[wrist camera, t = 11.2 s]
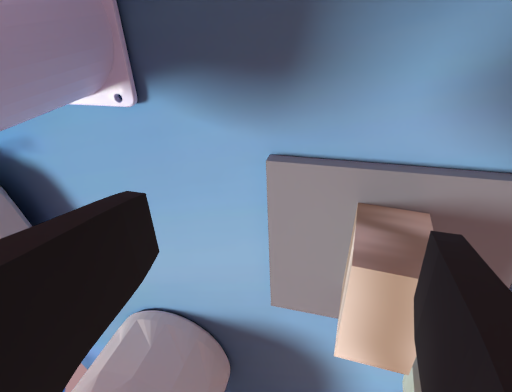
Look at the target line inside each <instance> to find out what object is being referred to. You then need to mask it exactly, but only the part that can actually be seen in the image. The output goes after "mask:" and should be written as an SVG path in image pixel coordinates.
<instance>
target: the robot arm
mask: <svg viewBox="0 0 512 392" xmlns="http://www.w3.org/2000/svg"><path fill="white" fill-rule="evenodd" d="M118 94H120V95H121V96H122V100H121V99H120V98H119V96H118ZM136 103H137V93H136V89H135V84H134V80H133V75H132V70H131V66H130V61H129V57H128V52H127V47H126V43H125V38H124V34H123V29H122V24H121V20H120V15H119V11H118V6H117V1H116V0H0V131H2V130H5V129H7V128H10V127H12V126H15V125H17V124H20V123H22V122H25V121H27V120H30V119H32V118H35V117H37V116H40V115H42V114H45V113H47V112H50V111H52V110H55V109H57V108H60V107H62V106H65V105H67V104H74V105H95V106H117V107H131V106H133V105H135V104H136ZM158 253H159V248H158V244H157V240H156V235H155V231H154V227H153V223H152V218H151V214H150V210H149V206H148V201H147V197H146V193H138V192H131V191H125V192H122V193H118V194H115V195H112V196H109V197H106V198H104V199H101V200H98V201H96V202H93V203H91V204H88V205H86V206H83V207H81V208H78V209H76V210H73V211H71V212H68V213H66V214H63V215H61V216H58V217H56V218H53V219H51V220H48V221H46V222H43V223H41V224H38V225H35V226H33V227H30V228H27V229H25V230H22V231H19V232H17V233H14V234H12V235H9V236H6V237H4V238H1V239H0V392H62V391H63V390H64V388H65V387H66V385H67V383H68V382H69V380H70V379H71V377H72V375H73V374H74V372H75V371H76V369H77V367H78V366H79V365H80V363H81V362H82V361H83V359H84V358H85V356H86V355H87V354H88V352H89V351H90V349H91V348H92V347H93V346H94V344H95V343H96V342H97V340H98V339H99V338H100V336H101V335H102V334H103V333H104V331H105V330H106V329H107V327H108V326H109V325H110V324H111V322H112V321H113V320H114V318H115V317H116V316H117V315H118V313H119V312H120V311H121V309H122V308H123V307H124V306H125V304H126V303H127V302H128V300H129V299H130V298H131V296H132V295H133V294H134V292H135V291H136V290H137V288H138V287H139V286H140V284H141V283H142V282H143V280H144V278H145V276H146V275H147V273H148V271H149V270H150V268H151V266H152V264H153V263H154V261H155V259H156V257H157V255H158ZM414 341H415V348H416V356H417V363H418V370H419V378H420V385H421V392H512V292H511V291H510V290H509V288H508V287H507V286H506V285H505V284H504V283H503V282H502V281H501V279H500V278H499V277H498V276H497V275H496V274H495V273H494V271H493V270H492V269H491V268H490V267H489V266H488V265H487V263H486V262H485V261H484V260H483V259H482V257H481V256H480V255H479V254H478V253H477V252H476V250H475V249H474V248H473V247H472V246H471V245H470V243H469V242H468V241H467V240H466V239H465V238H464V237H463V235H460V234H453V233H445V232H437V231H430V235H429V239H428V243H427V247H426V251H425V255H424V259H423V263H422V267H421V271H420V275H419V279H418V283H417V287H416V291H415V295H414Z"/></svg>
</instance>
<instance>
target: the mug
mask: <svg viewBox="0 0 512 392" xmlns="http://www.w3.org/2000/svg"><path fill="white" fill-rule="evenodd" d="M229 376H230V364H229V361H228V358H227V356H226V354H225V352H224V350H223V349H222V347H221V346H220V344H219V343H218V342H217V341H216V340H215V338H214V337H213V336H211V335H210V334H209V333H208V332H207V331H206V330H204V329H203V328H202V327H200V326H199V325H197V324H195V323H194V322H192V321H190V320H188V319H186V318H184V317H182V316H179V315H176V314H173V313H169V312H165V311H157V310H149V311H141V312H137V313H134V314H132V315H131V316H129V317H128V318H127V319H126V320H125V321H124V323H123V324H122V325H121V326H120V327H119V329H118V330H117V331H116V333H115V334H114V335H113V337H112V338H111V339H110V341H109V342H108V343H107V345H106V346H105V347H104V349H103V350H102V351H101V353H100V354H99V355H98V357H97V358H96V359H95V361H94V362H93V364H92V365H91V366H90V368H89V369H88V370H87V372H86V373H85V374H84V376H83V377H82V378H81V380H80V381H79V382H78V384H77V385H76V386H75V388H74V389H73V390H72V392H224V391H225V389H226V386H227V383H228V379H229Z"/></svg>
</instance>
